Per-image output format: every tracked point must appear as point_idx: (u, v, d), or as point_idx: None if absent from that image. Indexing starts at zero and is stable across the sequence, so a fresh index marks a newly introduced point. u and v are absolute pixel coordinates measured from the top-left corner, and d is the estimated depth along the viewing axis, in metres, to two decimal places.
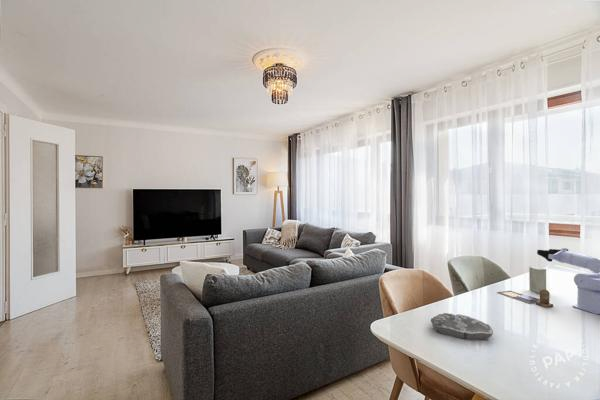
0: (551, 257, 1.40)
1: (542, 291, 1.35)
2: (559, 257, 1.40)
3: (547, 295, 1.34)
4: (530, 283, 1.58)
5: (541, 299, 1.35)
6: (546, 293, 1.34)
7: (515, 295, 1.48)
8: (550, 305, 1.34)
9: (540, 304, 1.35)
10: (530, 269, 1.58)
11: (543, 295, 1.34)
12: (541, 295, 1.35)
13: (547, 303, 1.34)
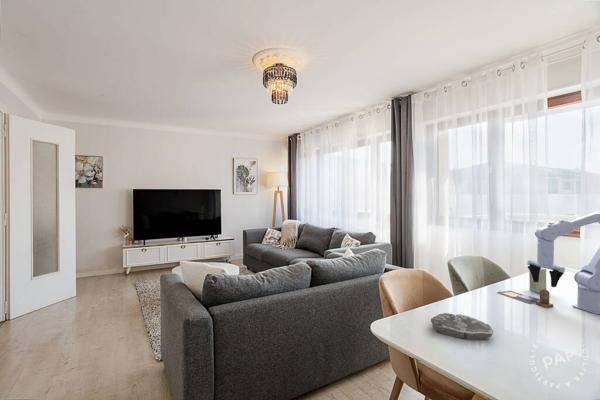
0: (563, 268, 1.28)
1: (542, 291, 1.35)
2: (552, 265, 1.33)
3: (547, 295, 1.34)
4: (530, 283, 1.58)
5: (541, 299, 1.35)
6: (546, 293, 1.34)
7: (515, 295, 1.48)
8: (550, 305, 1.34)
9: (540, 304, 1.35)
10: None
11: (543, 295, 1.34)
12: (541, 295, 1.35)
13: (547, 303, 1.34)
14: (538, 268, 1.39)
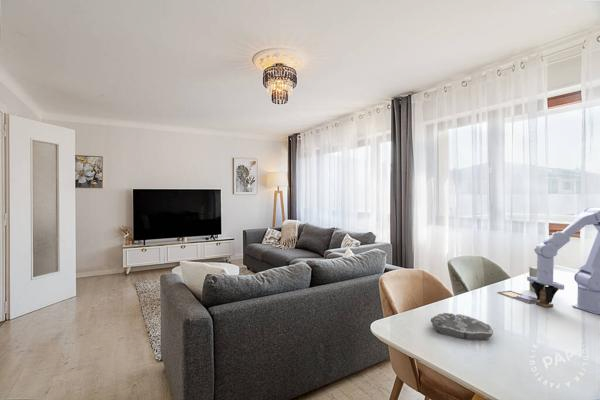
0: (563, 286, 1.28)
1: (542, 291, 1.35)
2: (552, 282, 1.33)
3: None
4: (530, 283, 1.58)
5: (541, 299, 1.35)
6: None
7: (515, 295, 1.48)
8: (550, 305, 1.34)
9: (540, 304, 1.35)
10: (530, 269, 1.58)
11: (543, 294, 1.34)
12: (541, 295, 1.35)
13: (547, 303, 1.34)
14: (542, 285, 1.38)
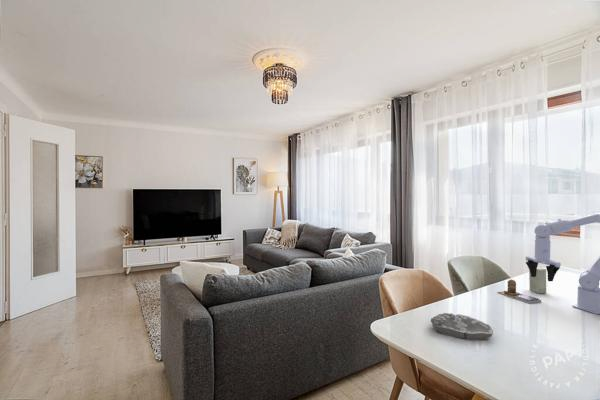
0: (559, 263, 1.36)
1: (509, 281, 1.49)
2: (549, 260, 1.40)
3: (514, 285, 1.48)
4: (530, 283, 1.58)
5: (509, 288, 1.50)
6: (513, 283, 1.48)
7: None
8: (516, 294, 1.48)
9: (508, 293, 1.49)
10: None
11: (510, 284, 1.49)
12: (509, 285, 1.50)
13: (514, 292, 1.48)
14: (535, 263, 1.47)
